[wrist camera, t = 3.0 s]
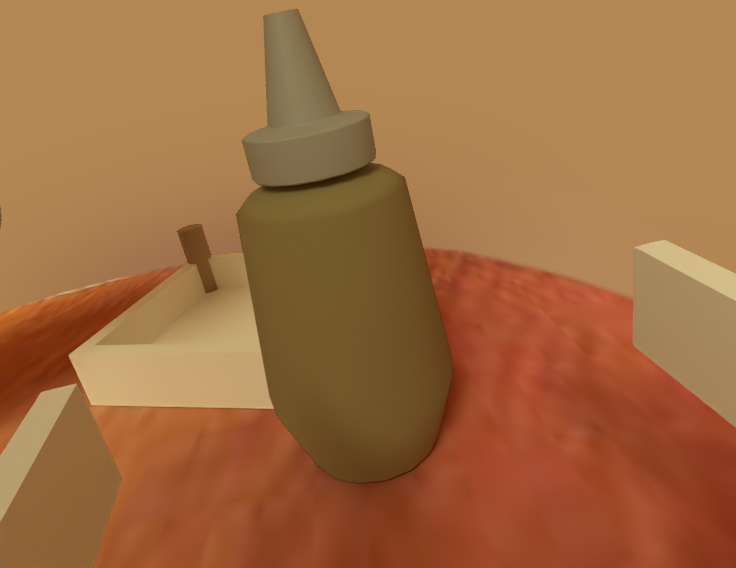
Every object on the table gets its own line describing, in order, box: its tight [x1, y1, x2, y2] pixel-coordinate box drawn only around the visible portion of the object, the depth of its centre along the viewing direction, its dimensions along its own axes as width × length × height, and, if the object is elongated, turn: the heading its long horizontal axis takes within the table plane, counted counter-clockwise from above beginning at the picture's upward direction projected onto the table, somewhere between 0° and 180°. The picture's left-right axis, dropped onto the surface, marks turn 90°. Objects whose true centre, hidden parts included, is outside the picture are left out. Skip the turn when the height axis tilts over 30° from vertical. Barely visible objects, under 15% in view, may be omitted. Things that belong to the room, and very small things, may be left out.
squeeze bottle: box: [236, 9, 454, 483], centre depth 22 cm, size 8×8×18 cm
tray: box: [68, 224, 274, 409], centre depth 36 cm, size 14×14×6 cm
